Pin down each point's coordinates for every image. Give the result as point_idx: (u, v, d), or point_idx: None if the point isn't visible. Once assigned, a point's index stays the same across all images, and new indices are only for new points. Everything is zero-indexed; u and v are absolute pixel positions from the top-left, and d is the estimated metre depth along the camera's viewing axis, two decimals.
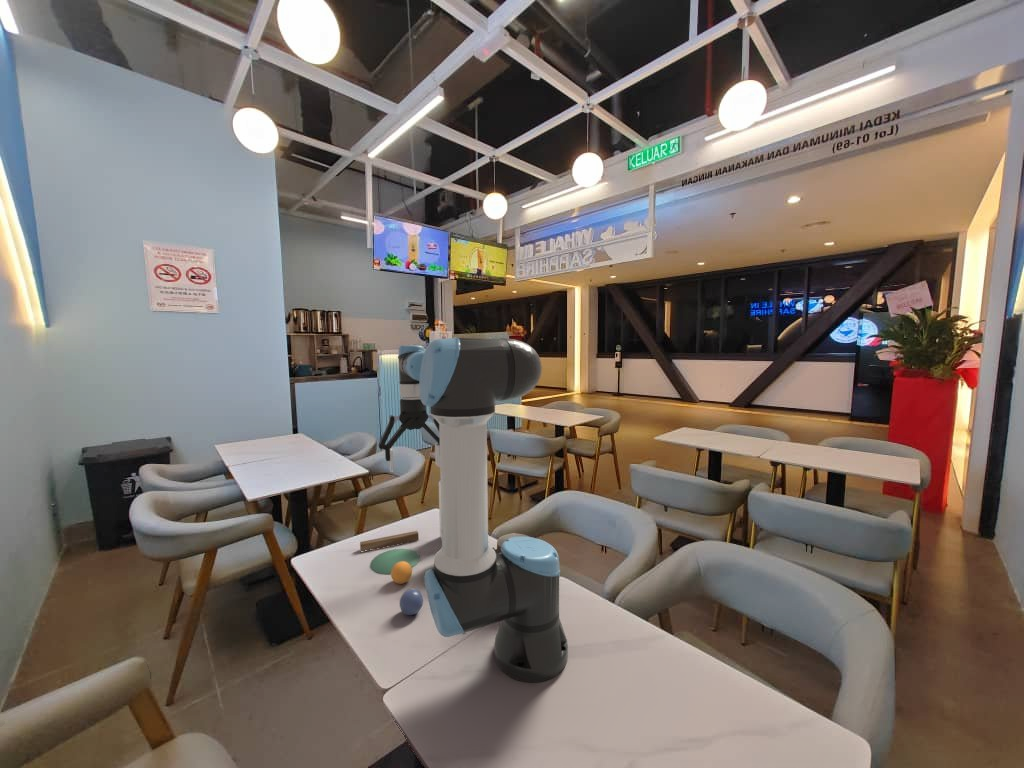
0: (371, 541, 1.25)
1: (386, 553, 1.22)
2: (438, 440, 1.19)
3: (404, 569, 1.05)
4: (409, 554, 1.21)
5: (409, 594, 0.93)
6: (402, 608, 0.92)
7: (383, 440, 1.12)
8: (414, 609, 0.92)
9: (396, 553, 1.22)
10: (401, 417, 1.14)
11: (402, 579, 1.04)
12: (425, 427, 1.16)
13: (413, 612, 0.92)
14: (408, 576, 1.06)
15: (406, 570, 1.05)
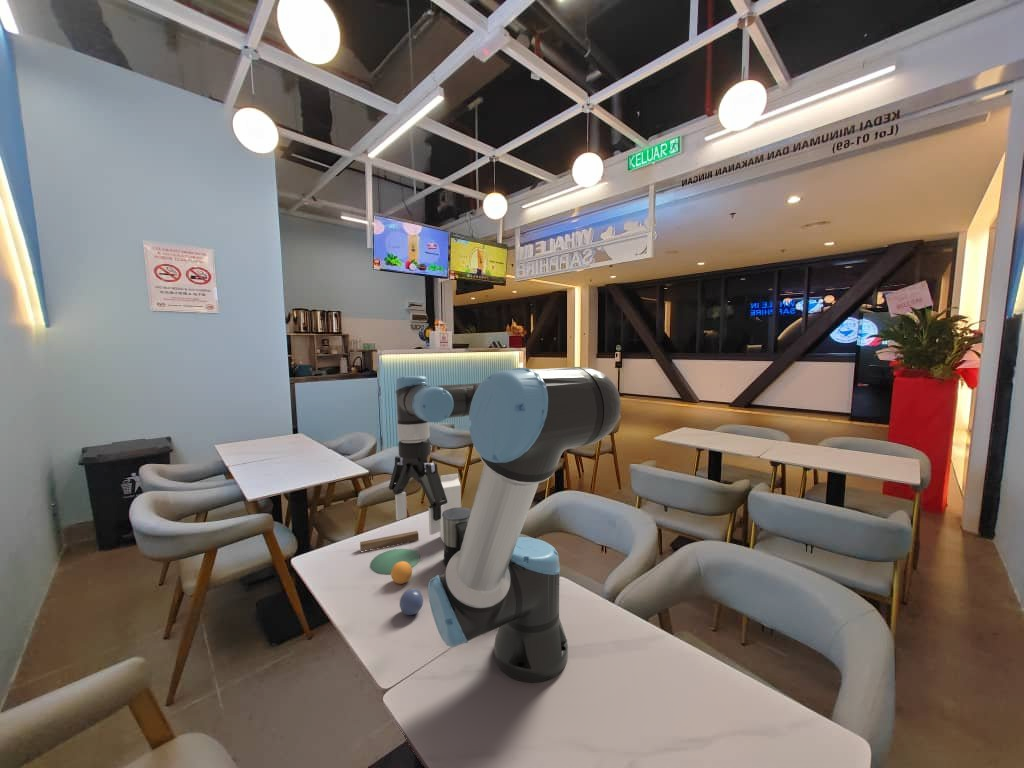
0: (371, 541, 1.25)
1: (386, 553, 1.22)
2: (430, 500, 0.91)
3: (404, 569, 1.05)
4: (409, 554, 1.21)
5: (409, 594, 0.93)
6: (402, 608, 0.92)
7: (391, 481, 1.01)
8: (414, 609, 0.92)
9: (396, 553, 1.22)
10: (402, 460, 0.97)
11: (402, 579, 1.04)
12: (417, 478, 0.93)
13: (413, 612, 0.92)
14: (408, 576, 1.06)
15: (406, 570, 1.05)
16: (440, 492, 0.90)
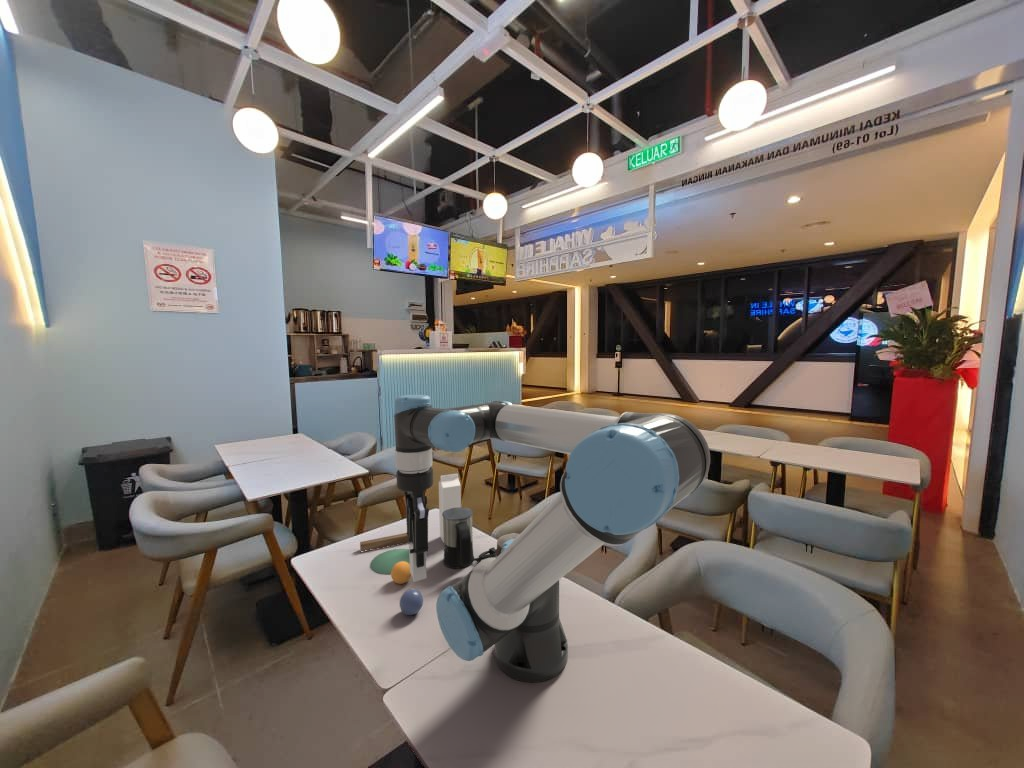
0: (371, 541, 1.25)
1: (386, 553, 1.22)
2: (413, 544, 0.81)
3: (404, 569, 1.05)
4: None
5: (409, 594, 0.93)
6: (402, 608, 0.92)
7: None
8: (414, 609, 0.92)
9: (396, 553, 1.22)
10: None
11: (402, 579, 1.04)
12: (409, 515, 0.82)
13: (413, 612, 0.92)
14: (408, 576, 1.06)
15: (406, 570, 1.05)
16: (422, 541, 0.79)
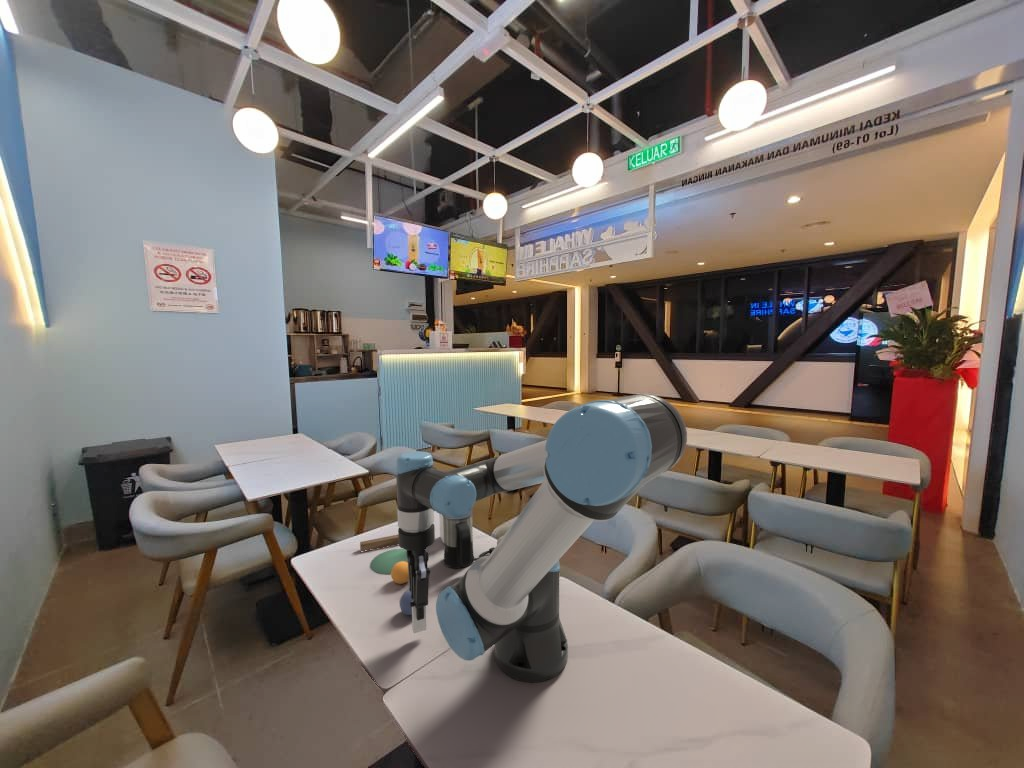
0: (371, 541, 1.25)
1: (386, 553, 1.22)
2: (413, 597, 0.84)
3: (404, 569, 1.05)
4: None
5: (409, 594, 0.93)
6: (402, 608, 0.92)
7: (409, 579, 0.88)
8: None
9: (396, 553, 1.22)
10: None
11: (402, 579, 1.04)
12: (410, 571, 0.83)
13: None
14: (408, 576, 1.06)
15: (406, 570, 1.05)
16: (423, 597, 0.81)
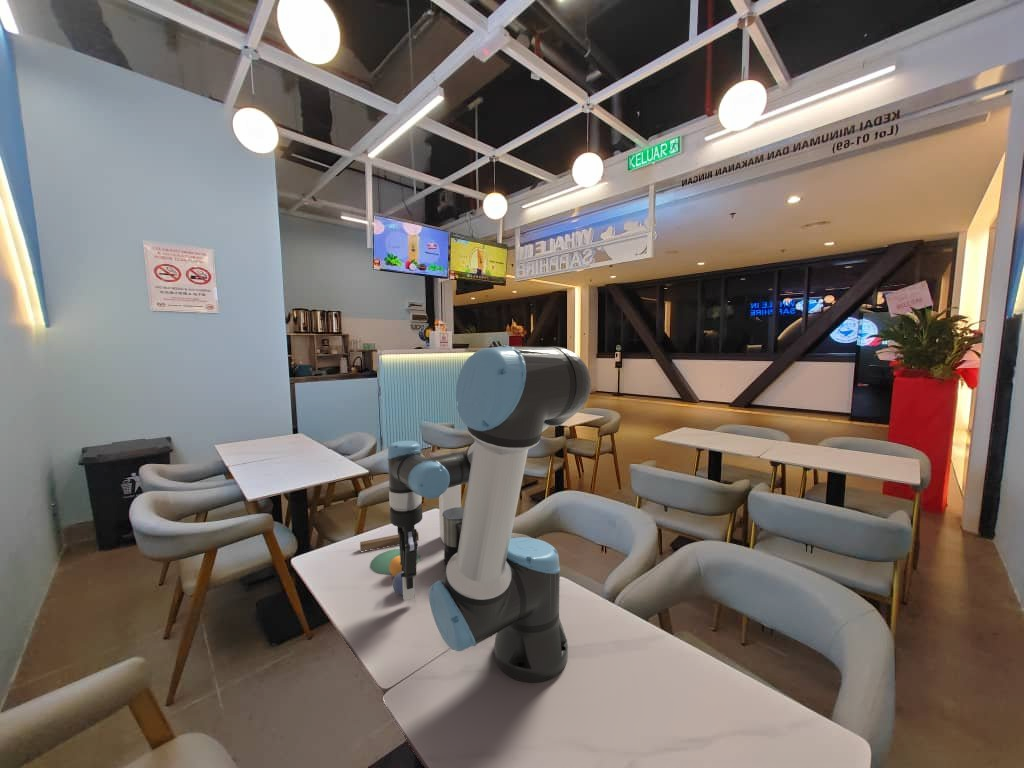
0: (371, 541, 1.25)
1: (386, 553, 1.22)
2: (404, 569, 0.95)
3: None
4: None
5: None
6: None
7: (400, 554, 0.99)
8: None
9: (396, 553, 1.22)
10: None
11: (398, 560, 1.08)
12: (400, 545, 0.94)
13: None
14: None
15: None
16: (411, 568, 0.93)
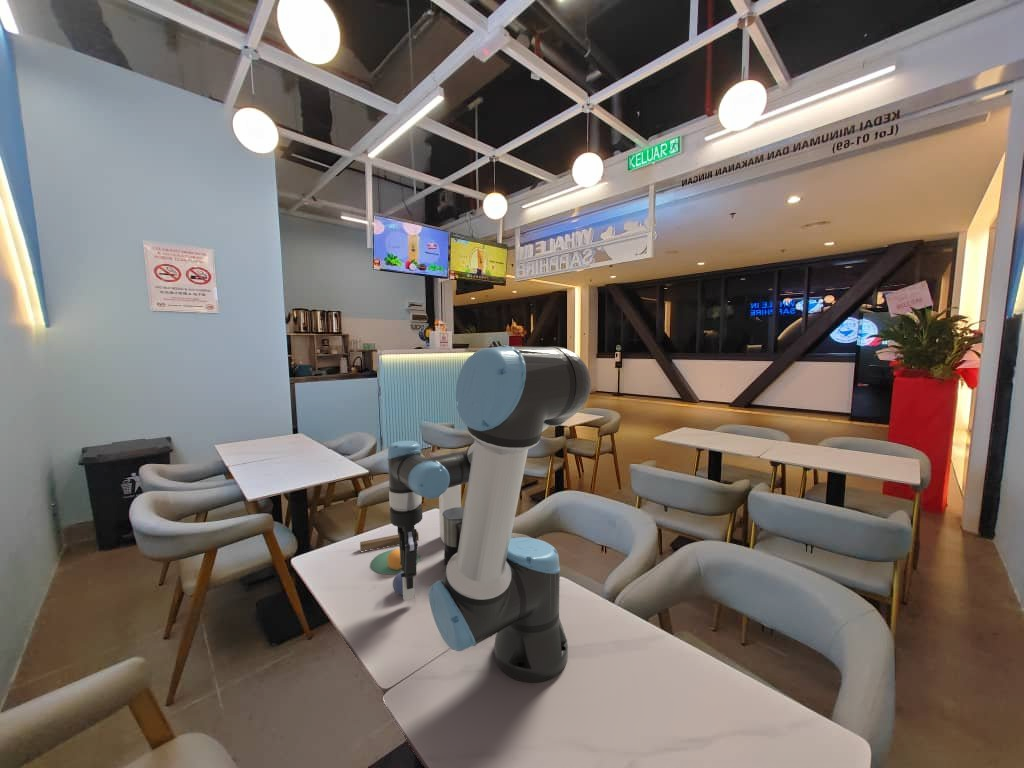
0: (371, 541, 1.25)
1: (386, 553, 1.22)
2: (404, 569, 0.95)
3: None
4: None
5: None
6: None
7: (400, 554, 0.99)
8: None
9: None
10: None
11: None
12: (401, 545, 0.94)
13: None
14: None
15: None
16: (411, 568, 0.93)
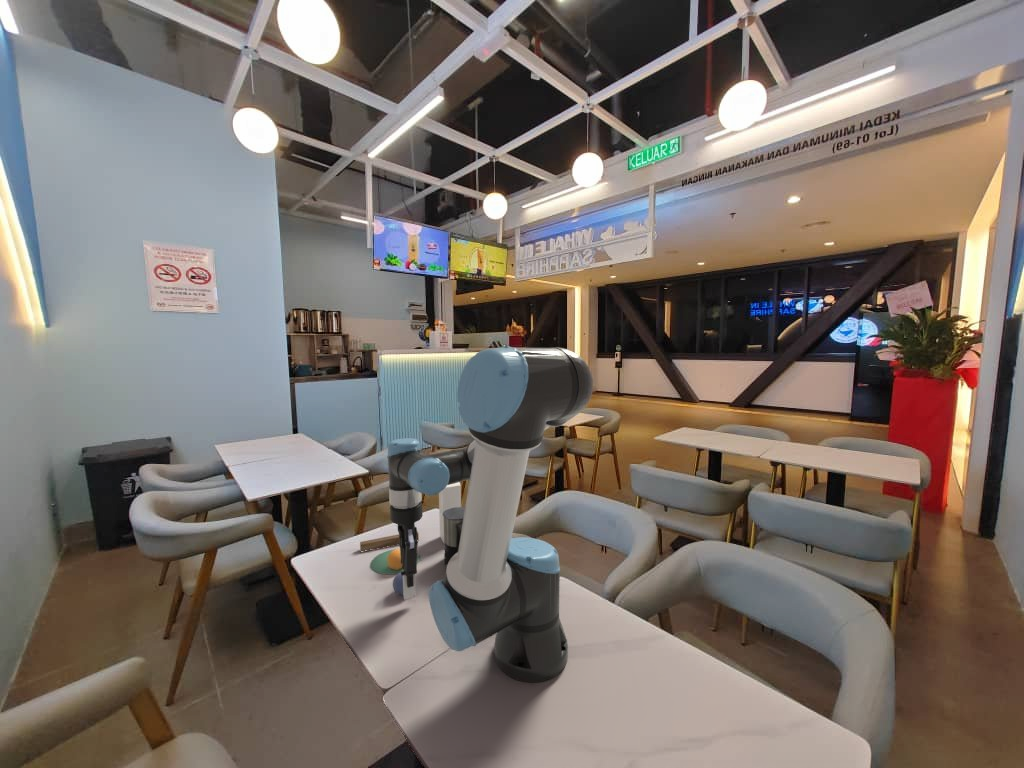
0: (371, 541, 1.25)
1: (386, 553, 1.22)
2: (404, 567, 0.95)
3: None
4: None
5: None
6: None
7: (400, 553, 0.99)
8: None
9: None
10: None
11: None
12: (401, 543, 0.94)
13: None
14: None
15: None
16: (412, 566, 0.92)
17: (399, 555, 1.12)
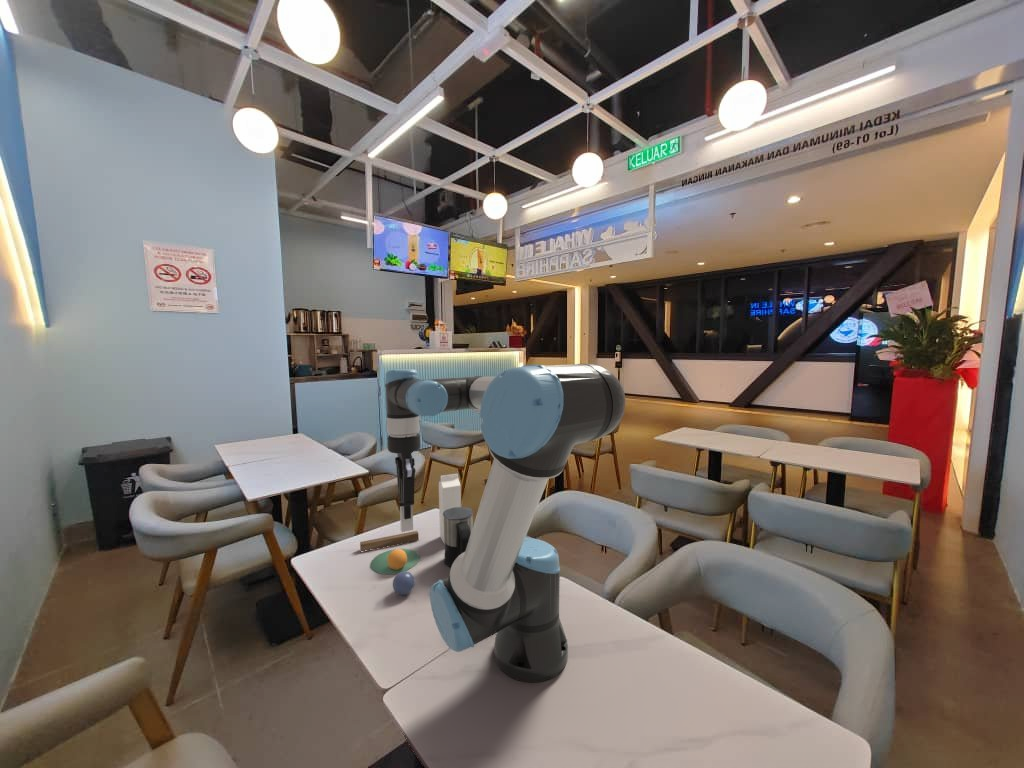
0: (371, 541, 1.25)
1: (386, 553, 1.22)
2: (401, 498, 0.93)
3: None
4: (409, 554, 1.21)
5: None
6: None
7: (398, 487, 0.98)
8: None
9: None
10: None
11: None
12: (398, 474, 0.93)
13: None
14: None
15: None
16: (409, 496, 0.91)
17: (399, 555, 1.12)
